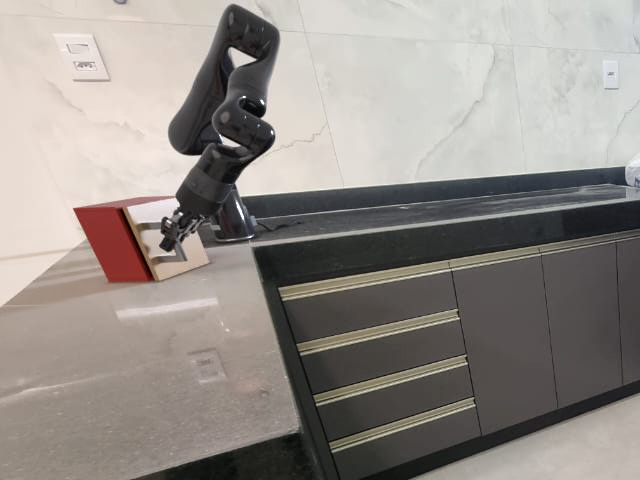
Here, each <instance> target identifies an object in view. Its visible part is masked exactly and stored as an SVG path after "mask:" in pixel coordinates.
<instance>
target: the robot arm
mask: <svg viewBox="0 0 640 480" xmlns="http://www.w3.org/2000/svg"><path fill="white" fill-rule="evenodd" d="M281 38H282V37H281V33H280V30H279V28H278V27H277V26H276V25H274V24H273V23H271V22H270V21H268V20H266V19H264V18H263V17H261V16H259V15H258V14H256V13H254V12H252V11H251V10H249V9H247V8H245V7H244V6H241V5H239V4H236V3H230V4H229V5H227V6H226V7H225V8H224V10H223V12H222V14H221V16H220V19H219V21H218V25H217V27H216V29H215V34H214V36H213V39H212V42H211V45H210V47H209V50H208V52H207V55H206V57H205V58H204V60H203V63H201V66H200V68H199V70H198V71H197V73H196V76H195V78H194V80H193V83H192V84H191V88H190V90H189V92H188V94H187V96H186V98H185V100H184V102H183V103H182V105H181V106H180V108H179V110H178V111H177V112H176V113H175V115H174V116H173V118H172V119H171V120H170V122H169V124H168V126H167V127H168V128H167V139H168V142H169V144H170V146H171V147H172V149H173V150H174V151H176V152H177V153H178V154H181V155H183V156H187V157H197V156H200V157H199V158H198V160H197V162H196V163H195V164H194V165H193V166H192V168H191V169H189V171H188V173H187V174H186V176H185V178H184V179H183V181H182V183H181V184H180V186H179V187H178V189H177V191H176V192H175V194H174V196H175V197H176V199H177V201H178V202H179V204H180V207H177V208H176V209H175V210H174V212H173V216H172V217H171V218H170V219H169V218H168V217H166V216H165V217H163V218H162V221H161V231H160V233H161V234H163V235H165V237H164V238H163V240H162V241H161V243H160V245H159V247H160V248H161V249H163V250H164V251H166V252H171V251H172V250H174V249H173V248H174V247H175V245H176V244H177V242H178V240H180V243H181V244H182V242H183V241H184V239H185V238H187V237H189V235H190V233H191V234H194V233H195V232H196V231H197V232H198V230H199V229H200V228H201V227H202V226H203V225H204V224H205V223H206V222H207V221H208V220H209V223H210V225H209V226H210V229H211V231H213V233H214V236H215V240H216V242H217V243H218V244H231V243H233V244H234V243H239V242H246V241H249V240H250V241H251V240H253V239H255V238H256V237H257V232H256V230H255V227H256V226H258V225H259V226H262V227H263V228H264V229H266V230H267V231H270V232H272V231H274V230H275V229H279V228H287V227H292V226H294V225H295V224H296V223H298V224H300V225H301V224H303V222H302V221H301V220H300V219H297V218H296V219H294V220H292V221H291V222H289V223H283V224H276V225H273V226H271V227H269V226H268V225H267V224H266V223H264V222H262V221H259V220H257V219H256V217H255V215H250V214H249V211H248V210H249V209H248V208H247V205H246V204H243V201H242V198H241V196H240V193H239V189H238V187H237V184H236V183H237V181H238V179H239V178H240V177H241V175H242V173H243V172H244V170H245V169H246V168H248V166H249V165H251V164H252V163H253V162H254V161H255V160H257V159H258V158H260V157H261V156H263V155H265V154H266V153H267V152H268V151H269V150H270V149H271V148H272V147H273V146H274V144H275V141H276V135H277V134H276V130H275V129H274V126H273V125H271V124H270V123H269V122H268V121H266V120H264V119H262V118H264V116H265V115H266V113H267V108H268V97H269V96H268V95H269V87H270V82H271V79H272V77H273V73H274V71H275V66H276V63H277V59H278V55H279V52H280V47H281V42H282V41H281V40H282V39H281ZM232 49H234V50H236V51H238V52H240V53H242V54H243V55H245V56H248V57H250V58H252V59H253V60H254V61H251V62H248V63H244V64H241V65H239V66H236V63H235V61H234V58H233V54H232ZM224 138H225V139H227V140H229V141H231V142H233V143H235V144H236V145H239V146H232V145H227V144H225V141H224Z"/></svg>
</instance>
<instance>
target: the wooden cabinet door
mask: <svg viewBox="0 0 640 480" xmlns="http://www.w3.org/2000/svg"><path fill="white" fill-rule="evenodd" d="M177 207H180V204H179V202H178V201H177V199H176V197H173V198H167V199H162V200H157V201H152V202H147V203H142V204H136V205H131V206H126V207H122V208H123V210H124V213H125V215H126V217H127V219H128V221H129V224H130V226H131V228H132V230H133V232H134V235H135V237H136V239H137V241H138V243H139V246H140V248H141V250H142V252H143V254H144V257H145V259H146V261H147V263H148V265H149V268H150V270H151V272H152V274H153V276H154V279H155V280H154V281H155V282H160V281H163V280H166V279H170V278H171V277H174V276H177V275H180V274H183V273H186V272H188V271H191V270H193V269H196V268H199V267H202V266H204V265H208V264H209V263H210V260H209V257H208V254H207V252H206V250H205V247H204V245H203V243H202V240H201V238H200V235H199V233H198V230H197V231H196V232H195V233H194V234H191V233H190V235H189V237H187V238H185V239H184V241H183V242H182V244H181V243H180V240H178V242H177V244H176V245H175V247H174V248H173V249H174V250H172V251H171V252H166V251H164V250H163V249H161V248H160V247H159V245H160V243H161V241H162V240H163V238H164V237H165V235H163V234H161V233H160V231H161V221H162V218H163V217H165V216H166V217H168V218H169V219H170V218H171V217H172V216H173V212H174V210H175V209H176V208H177Z"/></svg>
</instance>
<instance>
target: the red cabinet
mask: <svg viewBox="0 0 640 480" xmlns="http://www.w3.org/2000/svg"><path fill="white" fill-rule="evenodd" d="M173 197H175V195H157V196H156V195H155V196H154V195H153V196H138V197H130V198H125V199H119V200H113V201H108V202H101V203H95V204H89V205H83V206H77V207H76V206H75V207H72V210H73V213H74V214H75V217H76V219H77V221H78V222H79V225H80V226H81V228H82V231H83V232H84V235H85V237H86V238H87V240H88V243H89V245H90V248H91V249H92V251H93V254H94V255H95V257H96V259H97V261H98V263H99V265H100V267H101V269H102V271H103V273H104V275H105V277H106V279H107V281H108V283H138V282H139V283H142V282H144V283H145V282H151V281H155V279H154V276H153V274H152V272H151V270H150V268H149V265H148V263H147V261H146V259H145V257H144V254H143V252H142V250H141V248H140V246H139V243H138V241H137V239H136V237H135V235H134V232H133V230H132V228H131V226H130V224H129V221H128V219H127V217H126V215H125V213H124V210H123V208H122V207H126V206H131V205H136V204H142V203H147V202H152V201H157V200H162V199H167V198H173Z"/></svg>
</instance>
